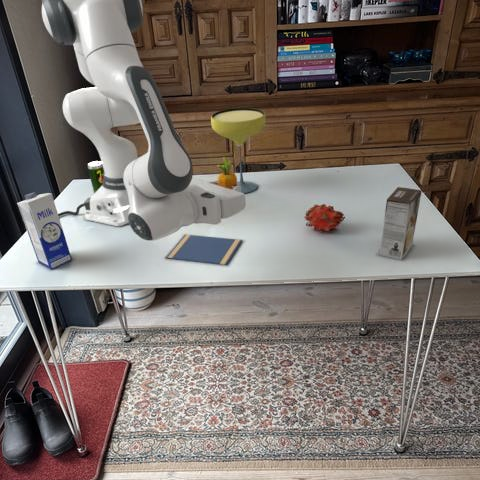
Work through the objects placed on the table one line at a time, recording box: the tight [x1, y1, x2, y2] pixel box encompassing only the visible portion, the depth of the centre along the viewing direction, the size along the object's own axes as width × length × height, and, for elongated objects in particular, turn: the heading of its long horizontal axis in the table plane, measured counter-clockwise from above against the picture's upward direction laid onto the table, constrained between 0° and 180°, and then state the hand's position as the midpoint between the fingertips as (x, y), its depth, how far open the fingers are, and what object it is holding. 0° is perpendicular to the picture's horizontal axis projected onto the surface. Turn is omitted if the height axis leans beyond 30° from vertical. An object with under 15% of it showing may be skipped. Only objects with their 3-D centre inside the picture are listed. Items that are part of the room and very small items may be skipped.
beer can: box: [87, 160, 104, 194], centre depth 169 cm, size 5×5×12 cm
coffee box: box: [379, 186, 423, 261], centre depth 125 cm, size 9×6×16 cm
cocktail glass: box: [210, 107, 267, 194], centre depth 164 cm, size 18×18×25 cm
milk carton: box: [16, 191, 73, 270], centre depth 130 cm, size 7×7×20 cm
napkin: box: [165, 234, 243, 266], centre depth 136 cm, size 18×14×1 cm
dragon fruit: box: [304, 203, 346, 234], centre depth 140 cm, size 8×8×12 cm
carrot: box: [216, 156, 238, 189], centre depth 121 cm, size 5×5×15 cm
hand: (230, 185), depth 122 cm, fingers closed on carrot, 5 cm apart
